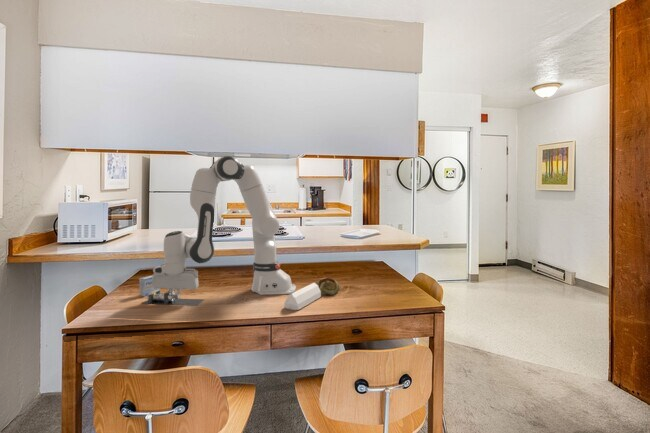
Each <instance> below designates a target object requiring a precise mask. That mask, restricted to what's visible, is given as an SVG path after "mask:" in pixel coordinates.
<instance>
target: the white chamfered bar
mask: <svg viewBox="0 0 650 433" xmlns="http://www.w3.org/2000/svg"><path fill="white" fill-rule="evenodd" d="M321 297H322V295H321V291H320V289H319V287H318V285H317V284H316V282H312V283H310V284H308V285H306V286H304V287H301V288H300V289H298V290H295V291H294V292H293V293H291V294H288V296H287V297H286V298H285V301H284V304H283V306H284V308H285V309H287V310H291V311H298V310H301V309H302V308H304V307H306V306H307V305H309V304H312V303H313V302H315V301H316V300H318V299H319V298H321Z"/></svg>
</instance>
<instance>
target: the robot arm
mask: <svg viewBox="0 0 650 433" xmlns="http://www.w3.org/2000/svg"><path fill="white" fill-rule="evenodd" d="M232 180H233V181H234V182H235V183H236V184H237V186H238V189H239V193H241V196H242V199H243V201H244V204H245V207H246V208H247V211H248V213H249V215H250V217H251V228H252V229H251V230H252V238H253V257H254V258H253V263H252V264H253V266H252V272H253V280H252V285H251V288H250V290H251V292H253V293H255V294H256V293H257V295H260V296H261V295H262V296H264V295H268V296H269V295H290V294H292V293H294V292H296V291H297V290H296V289H297V286H296V285H295V284H294V283H293V284H292V278H291V275H289V274H287V273H286V272H285V270H282V269H281V262H279V261H277V245H276V244H277V243H276V239H275V238H276V237H275V235H276V234H277V233H279V230H280V222H279V220H278V217H277V215H276V213H275V211H274V208H273V207H272V204H271V203H270V201H269V198H268V196H267V194H266V190H265V188H264V186H263V182H262V181H261V178H260V176H259V173H258V172H257V170H256V169H255V167H253V165H249V164H243V163H241V162H240V161H239V160H238V159H237V158H235V157H234V156H231V155H226V156H222V157H220V158H218V159H217V160H215V161H214V162H213V163H212V164H211V166H210V167H200V168H198V169H197V170H196V171H195V173H194V177H193V180H192V183H191V188H190V193H189V203H190V206H191V208H192V209H193V210H194V212H195V213H196V217H197V221H198V222H197V231H196V232H197V233H196V236H192V235H189V234H187V233H185V232H183V231H180V230H177V231H171V232H169V233H167V234H166V235H165V236H164V238H163V254H164V260H163V264H161V265H157V266H156V267H154V268H153V269H152V272H153V274H152V275H153V276H152V286H153V288H160V290H162V289H164V290H165V289H166V290H168V291H169V292H170V294H171V295H172V298H176V299H181V298H180V296H181V293H182V292H183V290H196V289H198V287H199V285H200V284H199V283H200V282H199V271H198V270H197V269H196V268H192V267H191V268H188V267H187V266H186V261H187V260H186V259H192V261H194V262H195V263H197V264H206V263H207V262H208V261H210V260H211V259H212V258H213V256H214V255H215V254H214V252H215V246H214V242H213V233H214V232H213V231H214V230H213V229H214V220H215V203H216V196H217V188H218V185H219V183H220V182H227V181H232ZM174 289H175V290H176V292H177V293H175V292H174Z"/></svg>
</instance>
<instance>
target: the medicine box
mask: <svg viewBox="0 0 650 433" xmlns="http://www.w3.org/2000/svg"><path fill="white" fill-rule="evenodd" d="M152 276H153V274H152V275H147V276H143V277H139V278H138V282H139V283H138V285H139V296H140V297H148V294H149V293H150V292H152V291H153V290H155V289H157V288H153V286H152ZM155 293H156V292H155Z"/></svg>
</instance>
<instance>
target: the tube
mask: <svg viewBox="0 0 650 433" xmlns="http://www.w3.org/2000/svg"><path fill="white" fill-rule="evenodd" d="M146 297H147V300H148V301H149V294H148V296H146ZM174 299H175V298H172V295H171V293H170V294H168V302H173V301H174ZM153 301H164V293H161V292H160V293H154V294H153Z"/></svg>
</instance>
